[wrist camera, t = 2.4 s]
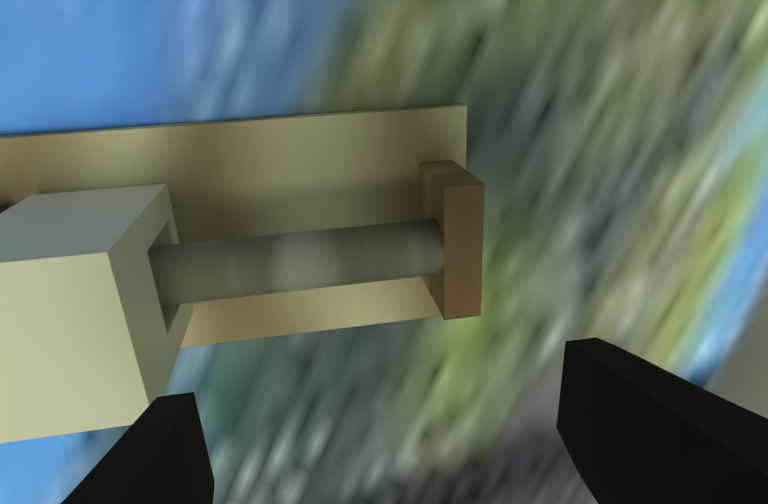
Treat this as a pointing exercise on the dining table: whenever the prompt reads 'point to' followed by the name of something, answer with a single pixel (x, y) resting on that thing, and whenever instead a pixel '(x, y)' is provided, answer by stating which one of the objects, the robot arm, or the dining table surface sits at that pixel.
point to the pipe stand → (289, 214)
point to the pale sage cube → (84, 310)
